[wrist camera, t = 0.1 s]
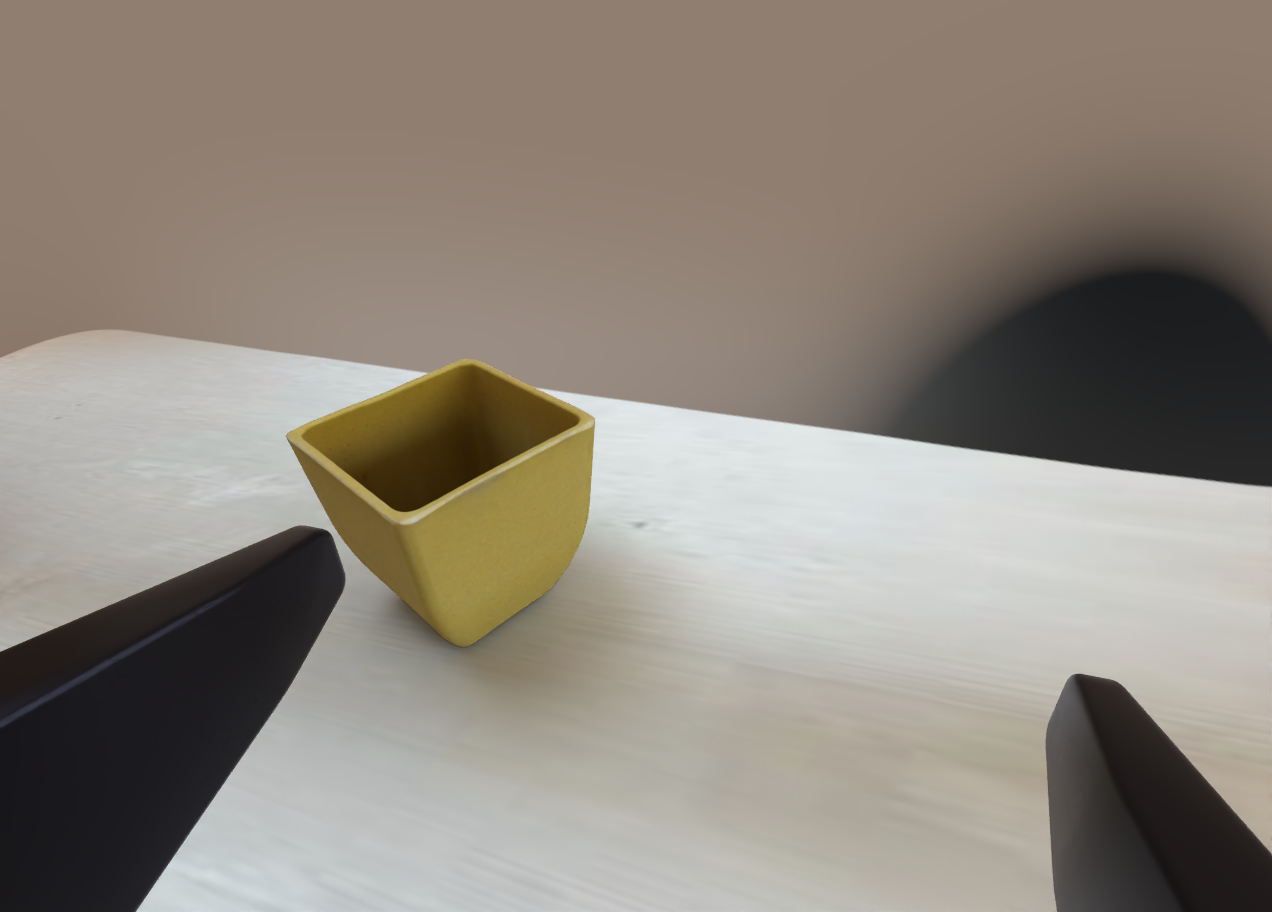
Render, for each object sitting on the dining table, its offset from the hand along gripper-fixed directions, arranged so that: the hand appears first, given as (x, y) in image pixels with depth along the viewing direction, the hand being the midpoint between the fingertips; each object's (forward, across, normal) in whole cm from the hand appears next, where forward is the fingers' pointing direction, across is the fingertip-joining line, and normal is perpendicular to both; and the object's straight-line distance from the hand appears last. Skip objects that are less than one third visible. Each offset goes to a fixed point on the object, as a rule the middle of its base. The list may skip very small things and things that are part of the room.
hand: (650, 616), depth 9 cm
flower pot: (+15, +13, +17) cm, 26 cm away
